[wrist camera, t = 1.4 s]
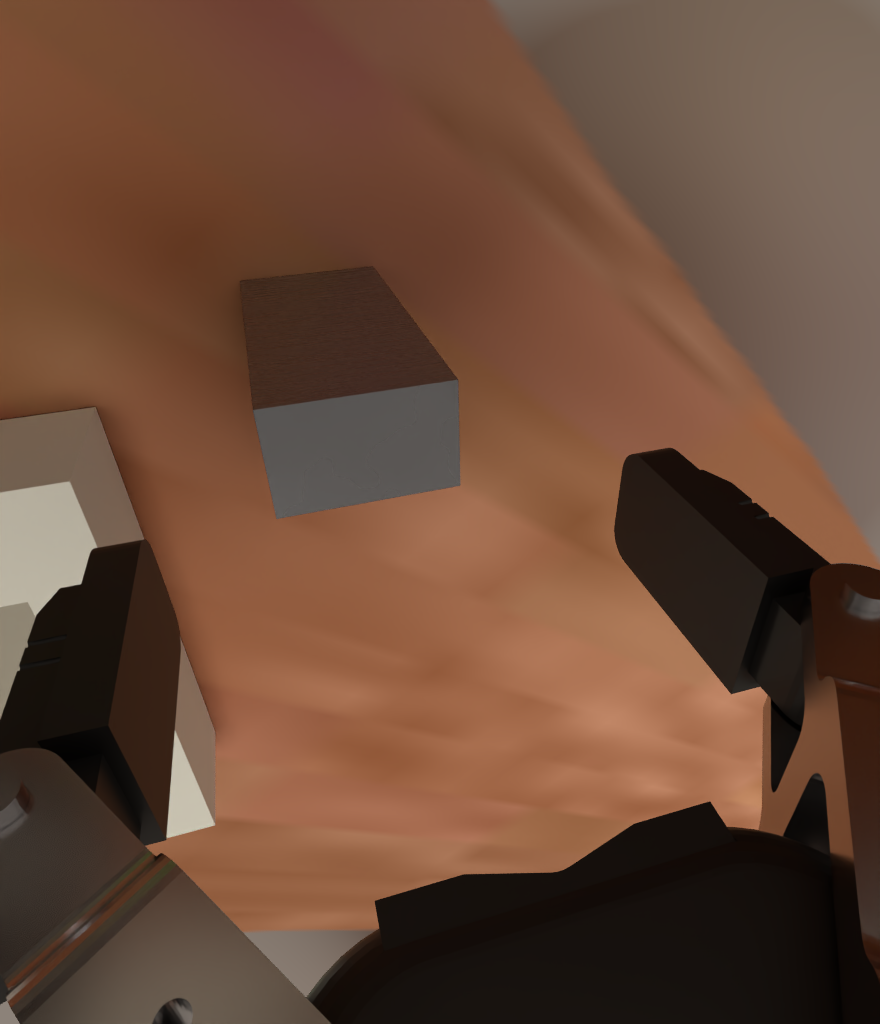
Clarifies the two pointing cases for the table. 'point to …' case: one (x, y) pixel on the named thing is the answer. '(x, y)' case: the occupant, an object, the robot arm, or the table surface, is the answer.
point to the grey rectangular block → (346, 392)
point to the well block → (82, 569)
